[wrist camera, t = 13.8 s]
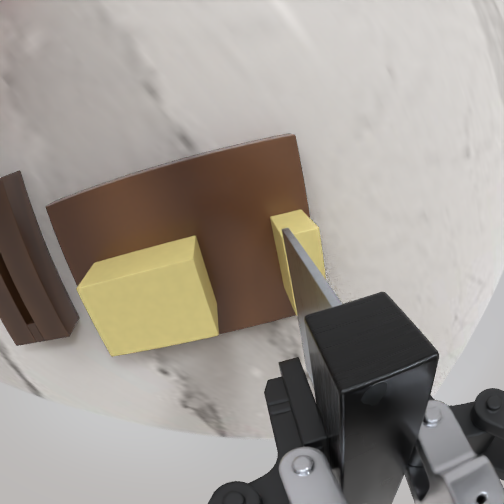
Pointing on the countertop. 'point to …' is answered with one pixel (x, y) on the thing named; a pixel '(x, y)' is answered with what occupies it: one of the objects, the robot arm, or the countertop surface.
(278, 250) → the butter slice
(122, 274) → the butter block
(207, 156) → the cutting board
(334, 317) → the knife
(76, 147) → the countertop surface
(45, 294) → the knife stand
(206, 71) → the countertop surface
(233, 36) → the countertop surface
